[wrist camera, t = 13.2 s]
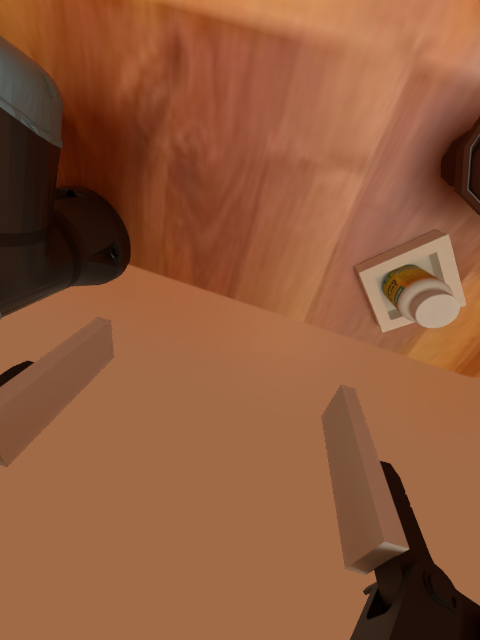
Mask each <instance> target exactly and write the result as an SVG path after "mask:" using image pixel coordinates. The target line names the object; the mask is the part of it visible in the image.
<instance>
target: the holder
mask: <svg viewBox="0 0 480 640" xmlns="http://www.w3.org/2000/svg"><path fill="white" fill-rule="evenodd" d="M406 264H412V265H416V266H418V267H420V268H422V269H423V270H425V271H427V272H428V273H430V274H432V275H433V276H435V277H437V278H438V279H440V280H442V281H443V282H445V283H446V284H447V285H448V286H449V287H450V288H451V290H452V292H453V296H454V297H455V298H456V299H457V300H458V302H459V304H460V307H462V306H465V305H466V302H465V298H464V294H463V290H462V286H461V282H460V278H459V274H458V270H457V266H456V262H455V258H454V254H453V250H452V246H451V242H450V238H449V234H447V233H444V232H440V231H437V230H434V231H432V232H430V233H427V234H425V235H423V236H421V237H418V238H416V239H414V240H412V241H409V242H407V243H405V244H403V245H401V246H398V247H396V248H394V249H392V250H389V251H387V252H385V253H383V254H380V255H378V256H376V257H374V258H372V259H369V260H367V261H365V262H363V263H360V264H358V265H356V266H354V268H355V271H356V273H357V276H358V278H359V281H360V283H361V286H362V288H363V291H364V293H365V295H366V298H367V300H368V303H369V305H370V308H371V310H372V313H373V315H374V318H375V320H376V323H377V324H378V326H379V327H380V329H381V331H382V332H386V331H389V330H392V329H395V328H398V327H401V326H404V325H408V324H411V323H414V321H410V320H408V319H406V318H405V317H404V316H403V315H402V314H401V313H400V312H399V311H398V310H397V309H396V308H395V306H394V305H393V304H392V303H391V302H390V301H389V299H388V298H387V297H386V296H385V295H384V293H383V291H382V281H383V279H384V277H385V275H386V274H387V273H388V272H390V271H392V270H394V269H397V268H399V267H402V266H404V265H406Z"/></svg>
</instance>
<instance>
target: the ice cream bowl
mask: <svg viewBox="0 0 480 640" xmlns="http://www.w3.org/2000/svg"><path fill="white" fill-rule="evenodd" d="M441 177H442V178H443V179H444V180H445V181H446V182H447V183H448V184H449V185H450V186H455V191H456V192H457V193H458V194H459V195H460V196H461V197H462V198H463V199H464V200H465V201H466V202H467V203H468V204H469V205H470V206H471V207H472V209H473V210H474V211H475V212H476V213H477V214H478V215H480V117H479V118H478V120H477V121H476V123H475V125H474V126H473V128H472V129H471V130H470V131H468V132H467V133H465V134H464V135H462V136H461V137H459V138H457V139H456V140H454V141H453V142H452V144H451V145H450V147H449V149H448V150H447V152H446V153H445V155H444V156H443V158H442V164H441Z"/></svg>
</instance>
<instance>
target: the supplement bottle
mask: <svg viewBox="0 0 480 640" xmlns="http://www.w3.org/2000/svg"><path fill="white" fill-rule="evenodd" d="M382 291H383V293H384V295H385V296H386V297H387V298H388V299H389V301H390V302H391V303H392V304H393V305H394V306H395V308H396V309H397V310H398V311H399V312H400V313H401V314H402V315H403V316H404V317H405V318H406V319H408V320H410V321H414V322H418V323H419V324H420V325H421V326H423V327H426V328H439V327H442V326H445V325H447V324H449V323H450V322H452V321H453V320H454V319H455V318H456V317H457V315H458V313H459V311H460V304H459V302H458V300H457V299H456V298H455V297H454V296H453V292H452V290H451V288H450V287H449V286H448V285H447V284H446V283H445V282H443V281H442V280H440V279H438V278H437V277H435V276H433V275H432V274H430V273H428V272H427V271H425V270H423V269H422V268H420V267H418V266H416V265H412V264H406V265H404V266H402V267H399V268H397V269H394V270H392V271H390V272H388V273H387V274H386V275H385V277H384V279H383V281H382Z"/></svg>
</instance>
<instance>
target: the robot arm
mask: <svg viewBox="0 0 480 640" xmlns="http://www.w3.org/2000/svg"><path fill="white" fill-rule="evenodd" d="M62 109H63V103H62V97H61V94H60V92H59V89H58V87H57V85H56V84H55V82H54V81H53V79H52V78H51V77H50V76H49V74H48V73H47V72H46V71H45V70H44V69H43V68H42V67H40V66H39V65H38V64H37V63H36V62H34V61H33V60H32V59H31V58H29V57H28V56H27V55H25V54H24V53H23V52H21V51H20V50H19V49H18V48H16V47H15V46H14V45H12V44H11V43H10V42H8V41H7V40H5V39H4V38H3V37H1V36H0V319H1V318H2V317H4V316H6V315H8V314H11V313H13V312H15V311H17V310H19V309H22V308H24V307H26V306H28V305H30V304H32V303H35V302H37V301H39V300H41V299H43V298H46V297H48V296H50V295H52V294H54V293H57V292H59V291H61V290H64V289H66V288H68V287H71V286H87V285H100V284H104V283H107V282H109V281H111V280H113V279H115V278H117V277H119V276H120V275H121V274H122V273H123V272H124V271H125V269H126V267H127V265H128V262H129V258H130V243H129V238H128V234H127V231H126V229H125V226H124V224H123V222H122V220H121V219H120V217H119V215H118V214H117V213H116V211H115V210H114V209H113V208H112V206H111V205H110V204H109V203H108V202H107V201H106V200H104V199H103V198H102V197H101V196H99V195H98V194H96V193H94V192H93V191H91V190H88V189H86V188H82V187H77V186H59V187H56V181H57V172H58V164H59V156H60V149H61V148H63V141H62V139H61V132H62ZM113 358H114V354H113V342H112V330H111V320H107V319H103V318H100V317H97V318H96V319H94V320H93V321H91V322H90V323H89V324H87V325H86V326H85V327H83V328H82V329H80V330H79V331H78V332H76V333H75V334H73V335H72V336H71V337H69V338H68V339H66V340H65V341H64V342H62V343H61V344H60V345H58V346H57V347H55V348H54V349H53V350H51V351H50V352H48V353H47V354H46V355H45V356H43V357H41V358H40V359H39V360H37V361H36V362H35V363H34V362H31V361H26V362H23V363H21V364H18V365H16V366H13V367H12V368H10V369H9V370H7V371H6V372H4V373H3V374H1V375H0V465H2V466H6V467H8V465H10V464H11V463H12V461H13V460H14V459H15V458H16V457H17V456H18V455H19V454H20V453H21V452H22V451H23V450H24V449H25V448H26V447H27V446H28V445H29V444H30V443H31V442H32V441H33V440H34V439H35V438H36V437H37V436H38V435H39V434H40V433H41V432H42V431H43V430H44V429H45V428H46V427H47V426H48V425H49V424H50V423H51V421H52V420H53V419H54V418H55V417H56V416H57V415H58V414H59V413H60V412H61V411H62V410H63V409H64V408H65V407H66V406H67V405H68V404H69V403H70V402H71V401H72V400H73V399H74V398H75V397H76V396H77V395H78V394H79V393H80V392H81V391H82V390H83V388H85V387H86V386H87V385H88V384H89V383H90V382H91V381H92V379H93V378H94V377H95V376H96V375H97V374H98V373H99V372H100V371H101V370H102V369H103V368H104V367H105V366H106V365H107V364H108V363H109V362H110V361H111V360H112V359H113ZM322 423H323V429H324V435H325V442H326V448H327V455H328V462H329V468H330V475H331V481H332V487H333V494H334V500H335V506H336V513H337V519H338V526H339V532H340V538H341V544H342V551H343V558H344V564H345V569H348V570H351V571H355V572H358V573H361V574H365V575H366V574H368V573H370V572H371V571H373V570H374V571H375V575H376V579H377V582H376V583H374V584H372V585H370V586H368V587H366V589H365V590H364V591H363V592H364V594H365V595H367V594H369V593H370V595H369V597H368V599H367V602H366V604H365V606H364V609H363V611H362V613H361V615H360V618H359V620H358V622H357V625H356V627H355V629H354V632H353V634H352V636H351V639H350V640H480V606H479V605H478V604H476V603H475V602H473V601H472V600H470V599H469V598H467V597H466V596H464V595H463V594H461V593H460V592H459V591H457V590H456V589H455V587H454V585H453V584H452V582H451V580H450V579H449V578H448V577H447V575H446V574H445V573H444V572H443V571H442V570H441V569H440V568H439V567H438V566H437V565H435V564H434V562H433V560H432V558H431V556H430V554H429V551H428V548H427V546H426V543H425V541H424V538H423V536H422V533H421V530H420V528H419V526H418V523H417V520H416V518H415V515H414V513H413V510H412V508H411V507H410V502H409V500H408V497H407V495H406V494H405V489H404V487H403V484H402V482H401V479H400V477H399V476H398V474H397V473H396V471H395V470H394V468H393V467H392V465H391V464H390V463H386V462H383V461H379V458H378V455H377V452H376V449H375V446H374V443H373V440H372V437H371V434H370V431H369V428H368V426H367V423H366V419H365V416H364V414H363V411H362V408H361V405H360V402H359V399H358V396H357V393H356V390H355V388H351V387H348V386H345V385H341V386H340V387H339V389H338V390H337V392H336V394H335V395H334V397H333V399H332V400H331V402H330V403H329V405H328V407H327V408H326V410H325V411H324V413H323V415H322Z"/></svg>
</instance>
